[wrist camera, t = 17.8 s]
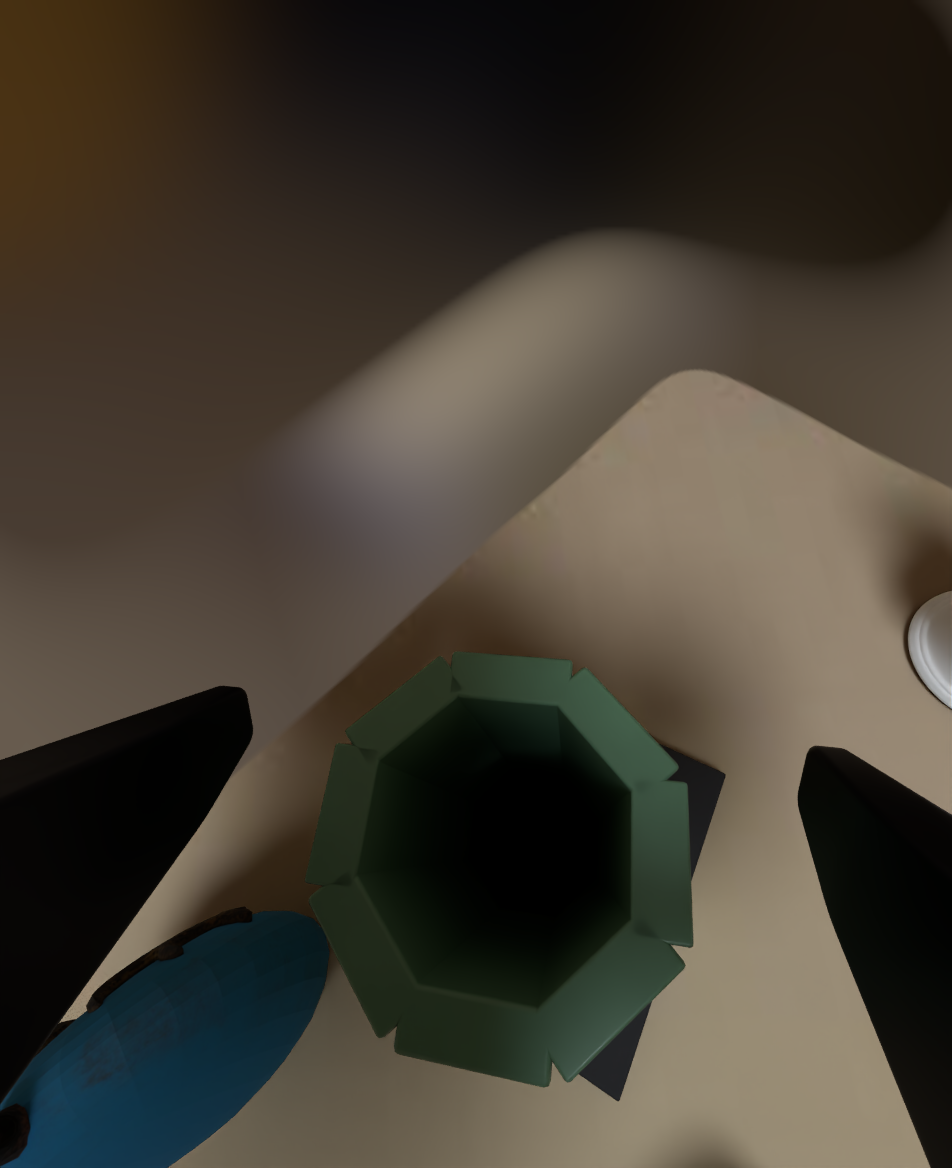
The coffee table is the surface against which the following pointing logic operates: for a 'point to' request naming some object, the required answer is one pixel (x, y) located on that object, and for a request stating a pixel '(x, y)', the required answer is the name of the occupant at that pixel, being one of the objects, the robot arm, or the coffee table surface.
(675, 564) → the coffee table surface
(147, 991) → the ornament
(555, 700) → the octagonal pen holder
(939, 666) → the candle
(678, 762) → the mat
